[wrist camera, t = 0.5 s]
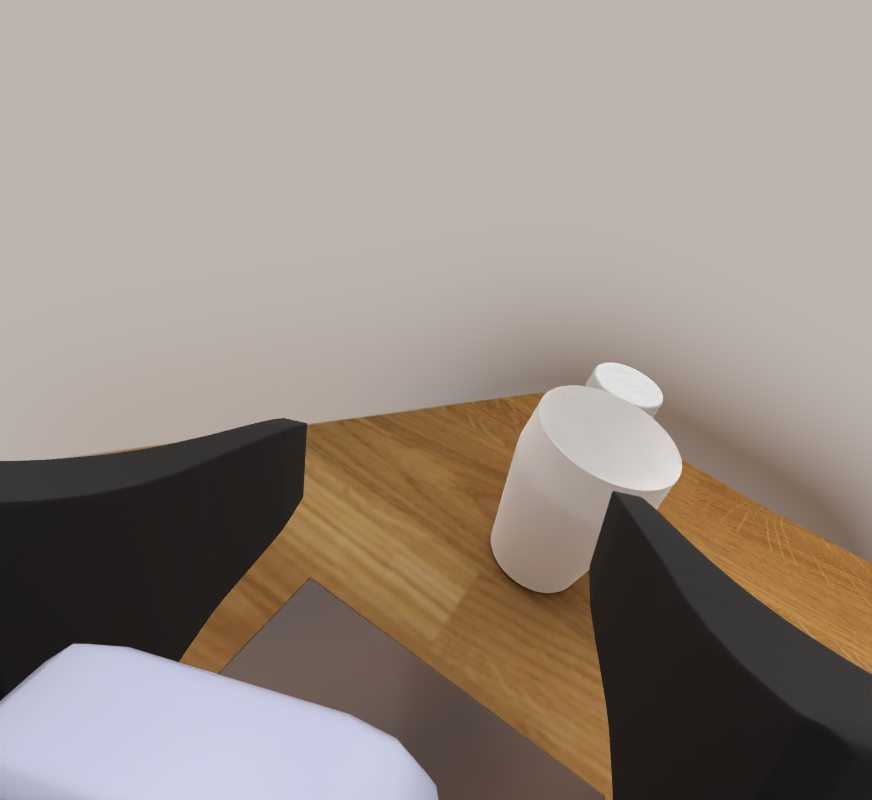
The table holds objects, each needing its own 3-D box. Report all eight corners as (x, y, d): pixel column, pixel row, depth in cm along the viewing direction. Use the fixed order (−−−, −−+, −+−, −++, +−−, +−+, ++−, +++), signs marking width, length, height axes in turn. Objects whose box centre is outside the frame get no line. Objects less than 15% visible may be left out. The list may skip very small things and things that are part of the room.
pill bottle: (607, 523, 40) (684, 421, 33) (535, 509, 40) (599, 401, 33) (591, 468, 45) (656, 368, 38) (527, 454, 44) (581, 350, 38)
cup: (601, 538, 39) (685, 425, 32) (581, 637, 32) (684, 522, 25) (496, 484, 41) (554, 365, 33) (455, 567, 34) (517, 440, 26)
